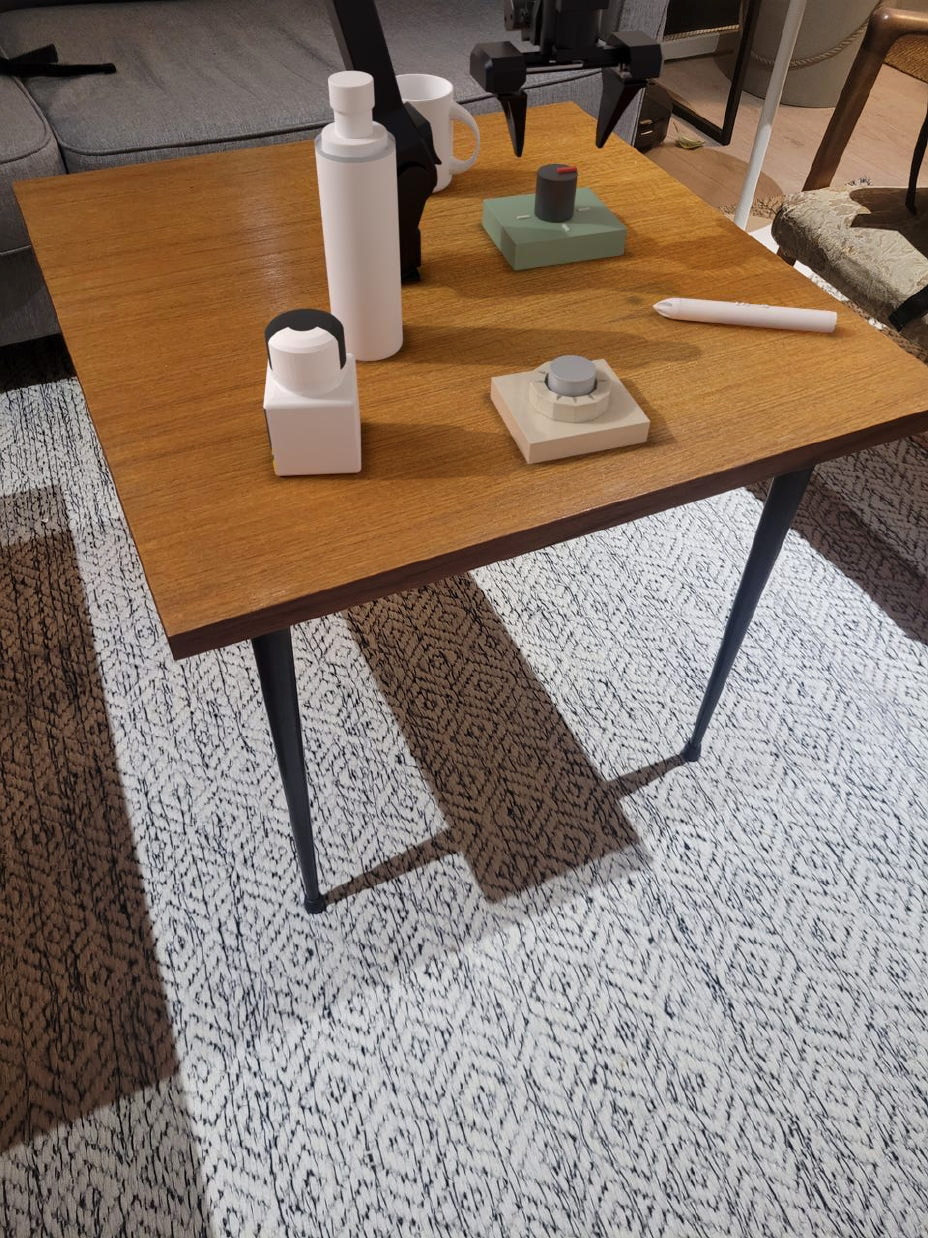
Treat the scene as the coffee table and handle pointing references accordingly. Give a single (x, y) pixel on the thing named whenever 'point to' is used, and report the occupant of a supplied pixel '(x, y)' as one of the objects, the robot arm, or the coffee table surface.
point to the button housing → (567, 414)
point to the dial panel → (552, 231)
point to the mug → (439, 120)
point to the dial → (555, 192)
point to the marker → (748, 314)
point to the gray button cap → (571, 376)
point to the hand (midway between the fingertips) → (558, 151)
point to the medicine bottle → (311, 395)
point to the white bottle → (360, 219)
